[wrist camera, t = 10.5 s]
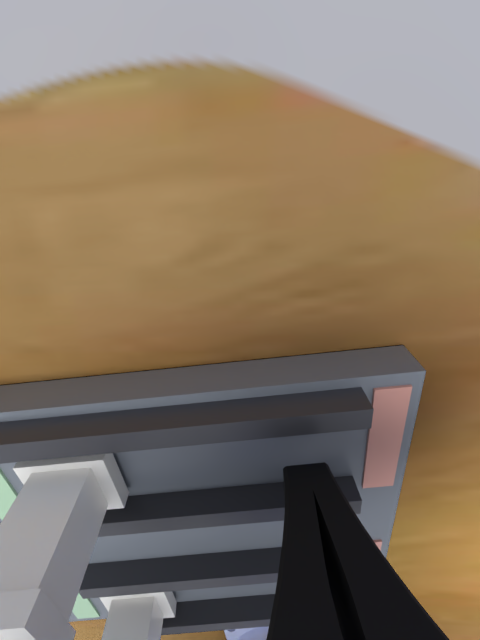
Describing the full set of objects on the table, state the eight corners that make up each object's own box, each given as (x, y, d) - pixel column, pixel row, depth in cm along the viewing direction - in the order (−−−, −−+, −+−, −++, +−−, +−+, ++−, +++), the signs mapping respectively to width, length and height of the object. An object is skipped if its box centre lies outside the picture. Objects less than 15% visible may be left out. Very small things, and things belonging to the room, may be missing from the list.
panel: (367, 563, 19) (385, 620, 16) (60, 590, 19) (38, 648, 17) (403, 345, 11) (444, 391, 9) (-88, 394, 12) (-161, 450, 10)
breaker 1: (129, 492, 12) (77, 669, 8) (51, 499, 12) (-40, 678, 8) (109, 445, 11) (35, 625, 7) (22, 453, 11) (-102, 636, 7)
